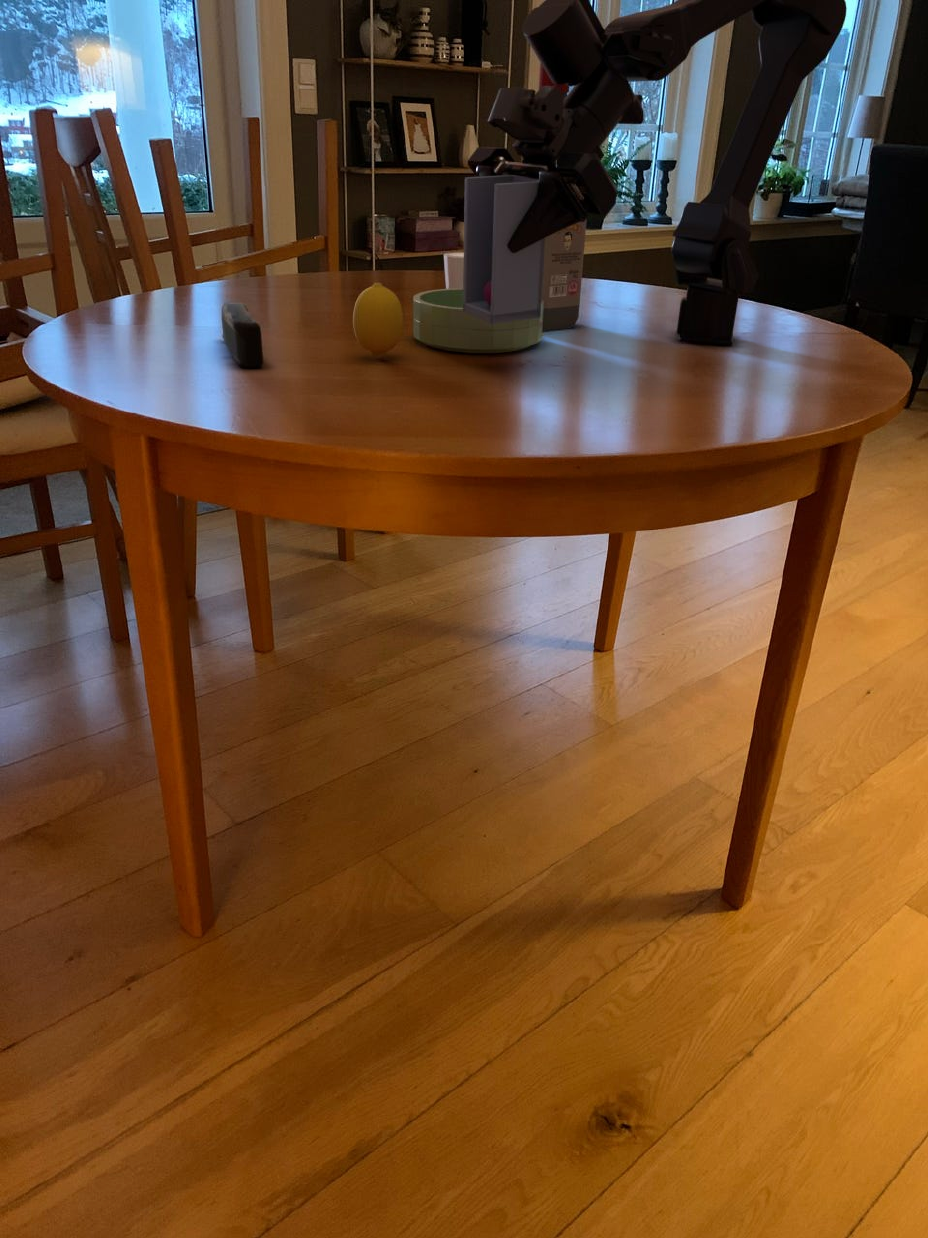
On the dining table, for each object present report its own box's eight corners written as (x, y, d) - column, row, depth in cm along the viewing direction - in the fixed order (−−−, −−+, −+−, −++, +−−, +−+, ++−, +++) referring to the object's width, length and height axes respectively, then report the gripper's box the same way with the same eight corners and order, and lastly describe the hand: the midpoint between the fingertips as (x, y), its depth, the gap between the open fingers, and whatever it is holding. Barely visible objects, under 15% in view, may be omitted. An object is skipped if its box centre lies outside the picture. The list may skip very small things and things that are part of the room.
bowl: (551, 334, 115) (554, 293, 112) (526, 359, 101) (528, 314, 99) (435, 324, 118) (435, 284, 116) (395, 348, 105) (395, 303, 103)
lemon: (384, 365, 97) (382, 288, 93) (344, 358, 100) (341, 282, 96) (413, 356, 101) (413, 282, 98) (374, 350, 104) (372, 277, 100)
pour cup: (508, 305, 99) (514, 174, 92) (540, 317, 94) (549, 181, 87) (462, 311, 96) (464, 177, 89) (493, 324, 92) (497, 184, 85)
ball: (520, 292, 94) (515, 279, 91) (505, 317, 94) (500, 305, 91) (496, 281, 94) (490, 267, 92) (481, 305, 95) (475, 293, 92)
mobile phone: (265, 321, 93) (238, 294, 105) (235, 323, 92) (212, 295, 103) (268, 370, 95) (242, 338, 107) (239, 372, 94) (216, 339, 106)
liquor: (587, 326, 120) (610, 62, 105) (533, 332, 115) (550, 57, 101) (544, 315, 126) (560, 65, 112) (492, 320, 122) (501, 61, 107)
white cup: (484, 310, 128) (486, 258, 125) (438, 307, 130) (438, 255, 126) (492, 302, 134) (494, 252, 131) (448, 299, 135) (449, 250, 132)
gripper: (485, 58, 92) (394, 178, 92) (606, 50, 79) (499, 190, 79) (540, 145, 100) (456, 256, 100) (659, 151, 87) (562, 279, 86)
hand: (489, 245), depth 91 cm, fingers closed on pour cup, 7 cm apart
